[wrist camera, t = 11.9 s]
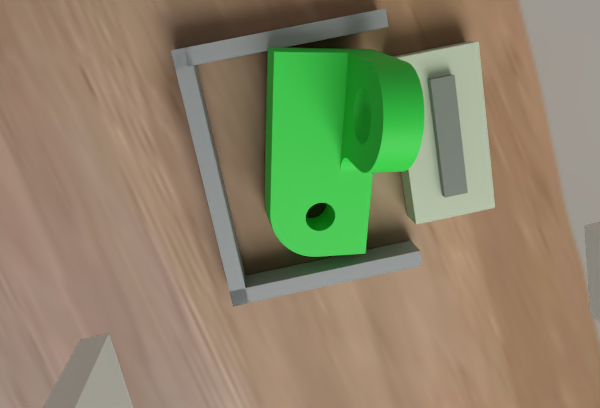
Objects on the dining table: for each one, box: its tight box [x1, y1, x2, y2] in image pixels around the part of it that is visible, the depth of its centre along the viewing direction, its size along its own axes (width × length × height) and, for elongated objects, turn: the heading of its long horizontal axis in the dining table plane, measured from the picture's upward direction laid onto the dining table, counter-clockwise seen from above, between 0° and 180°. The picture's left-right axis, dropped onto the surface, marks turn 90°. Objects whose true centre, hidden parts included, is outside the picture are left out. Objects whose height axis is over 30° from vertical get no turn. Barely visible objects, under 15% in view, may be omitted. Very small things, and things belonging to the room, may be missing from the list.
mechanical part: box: [265, 47, 425, 257], centre depth 31 cm, size 12×6×8 cm, turn 178°
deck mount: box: [171, 8, 495, 306], centre depth 34 cm, size 17×16×3 cm
